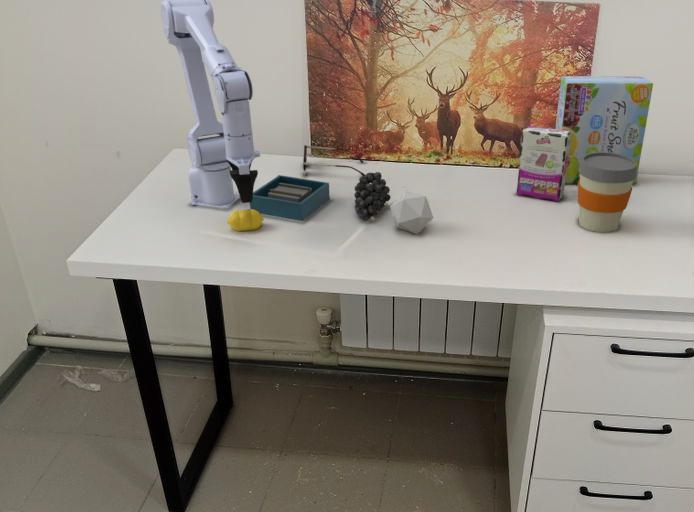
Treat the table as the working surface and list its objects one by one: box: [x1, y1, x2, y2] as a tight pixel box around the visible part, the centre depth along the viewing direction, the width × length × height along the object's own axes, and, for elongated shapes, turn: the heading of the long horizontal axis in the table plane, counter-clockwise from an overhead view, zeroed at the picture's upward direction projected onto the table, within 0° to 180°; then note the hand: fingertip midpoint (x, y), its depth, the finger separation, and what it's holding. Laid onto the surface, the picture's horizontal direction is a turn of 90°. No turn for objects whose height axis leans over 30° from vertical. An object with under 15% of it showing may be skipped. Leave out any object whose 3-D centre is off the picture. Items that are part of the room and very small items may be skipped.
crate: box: [249, 174, 331, 222], centre depth 172 cm, size 13×14×5 cm
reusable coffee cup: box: [577, 152, 637, 233], centre depth 165 cm, size 13×13×15 cm
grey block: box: [268, 183, 312, 203], centre depth 172 cm, size 8×7×4 cm
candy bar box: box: [516, 125, 572, 202], centre depth 179 cm, size 11×5×16 cm, turn 68°
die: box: [389, 190, 434, 235], centre depth 162 cm, size 8×9×10 cm
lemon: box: [227, 208, 264, 232], centre depth 161 cm, size 8×5×5 cm, turn 106°
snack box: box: [555, 75, 654, 185], centre depth 187 cm, size 22×9×26 cm, turn 92°
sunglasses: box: [302, 144, 366, 177], centre depth 194 cm, size 14×16×5 cm
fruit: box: [354, 171, 391, 221], centre depth 169 cm, size 9×8×15 cm
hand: (245, 195), depth 158 cm, fingers open, 7 cm apart
